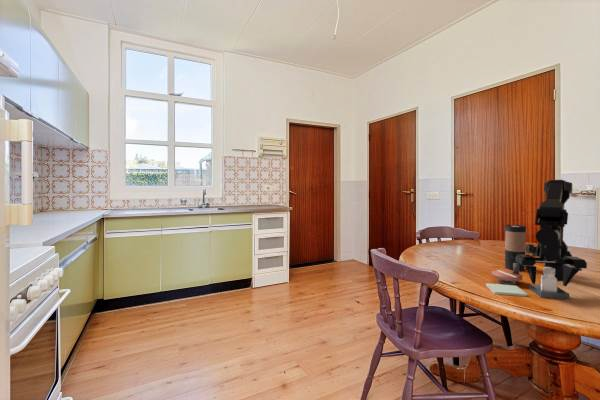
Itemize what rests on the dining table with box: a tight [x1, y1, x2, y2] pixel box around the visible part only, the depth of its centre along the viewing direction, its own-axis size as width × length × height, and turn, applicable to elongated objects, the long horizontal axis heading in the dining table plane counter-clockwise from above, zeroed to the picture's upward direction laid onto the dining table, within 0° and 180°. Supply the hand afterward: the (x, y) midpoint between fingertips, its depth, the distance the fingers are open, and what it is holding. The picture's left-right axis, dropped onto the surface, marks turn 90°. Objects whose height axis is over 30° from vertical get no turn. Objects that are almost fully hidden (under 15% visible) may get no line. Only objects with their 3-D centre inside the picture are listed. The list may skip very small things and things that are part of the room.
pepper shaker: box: [540, 266, 558, 292], centre depth 102 cm, size 4×4×10 cm
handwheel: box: [491, 263, 523, 282], centre depth 116 cm, size 10×10×5 cm
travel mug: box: [504, 224, 527, 272], centre depth 133 cm, size 8×8×20 cm
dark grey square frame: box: [529, 283, 570, 300], centre depth 103 cm, size 8×8×2 cm
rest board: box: [485, 283, 528, 297], centre depth 107 cm, size 10×9×1 cm
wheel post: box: [496, 278, 517, 286], centre depth 116 cm, size 6×6×2 cm
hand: (548, 284), depth 103 cm, fingers open, 9 cm apart
